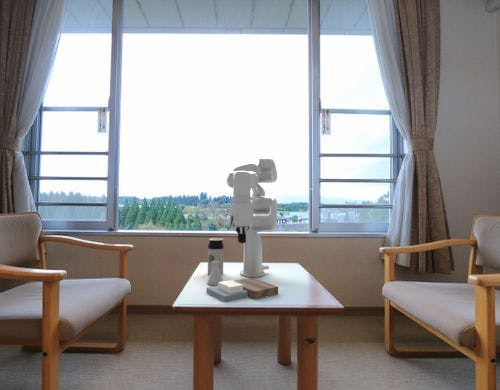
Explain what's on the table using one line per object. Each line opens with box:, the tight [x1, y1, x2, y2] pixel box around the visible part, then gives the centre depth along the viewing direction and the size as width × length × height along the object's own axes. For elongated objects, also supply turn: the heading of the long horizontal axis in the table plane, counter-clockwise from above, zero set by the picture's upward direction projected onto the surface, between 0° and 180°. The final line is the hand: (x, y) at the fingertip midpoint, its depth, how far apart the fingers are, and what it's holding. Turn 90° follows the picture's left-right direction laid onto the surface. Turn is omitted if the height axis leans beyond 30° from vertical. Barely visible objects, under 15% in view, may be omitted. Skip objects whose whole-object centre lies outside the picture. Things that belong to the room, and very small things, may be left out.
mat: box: [206, 285, 249, 303], centre depth 124 cm, size 11×14×2 cm
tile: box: [217, 279, 243, 294], centre depth 124 cm, size 6×9×2 cm, turn 37°
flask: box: [206, 261, 224, 287], centre depth 141 cm, size 7×7×10 cm
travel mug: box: [207, 237, 224, 276], centre depth 160 cm, size 8×8×18 cm
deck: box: [233, 277, 279, 300], centre depth 130 cm, size 12×18×3 cm, turn 37°
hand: (241, 242), depth 133 cm, fingers closed
